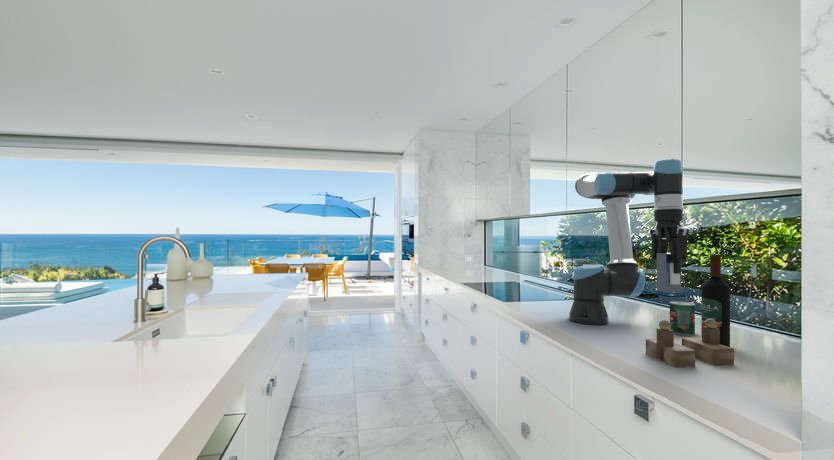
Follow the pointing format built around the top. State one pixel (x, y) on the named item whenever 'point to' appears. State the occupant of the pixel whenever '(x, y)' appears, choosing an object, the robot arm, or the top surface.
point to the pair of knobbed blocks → (690, 347)
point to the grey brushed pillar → (665, 274)
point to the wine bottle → (716, 301)
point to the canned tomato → (682, 317)
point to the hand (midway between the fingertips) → (669, 283)
